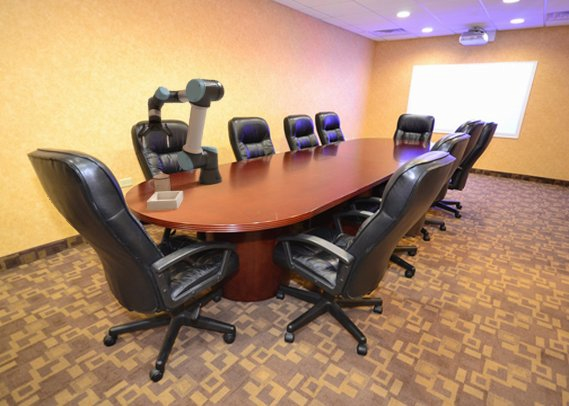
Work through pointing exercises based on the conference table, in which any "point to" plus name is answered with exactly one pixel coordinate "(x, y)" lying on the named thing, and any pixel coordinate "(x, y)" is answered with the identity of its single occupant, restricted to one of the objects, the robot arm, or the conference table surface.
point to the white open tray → (165, 200)
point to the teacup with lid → (161, 182)
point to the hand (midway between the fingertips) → (156, 146)
